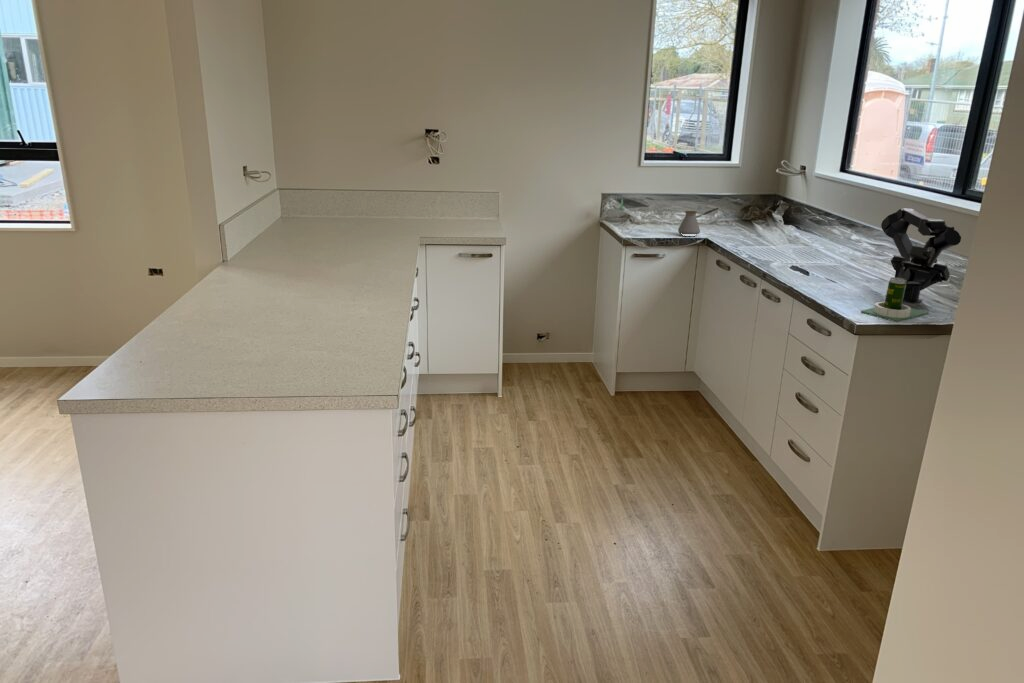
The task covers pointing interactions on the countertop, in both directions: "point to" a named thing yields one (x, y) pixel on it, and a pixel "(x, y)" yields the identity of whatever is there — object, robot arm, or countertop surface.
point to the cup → (892, 311)
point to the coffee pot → (691, 222)
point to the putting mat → (912, 314)
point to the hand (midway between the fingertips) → (907, 286)
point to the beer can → (895, 293)
